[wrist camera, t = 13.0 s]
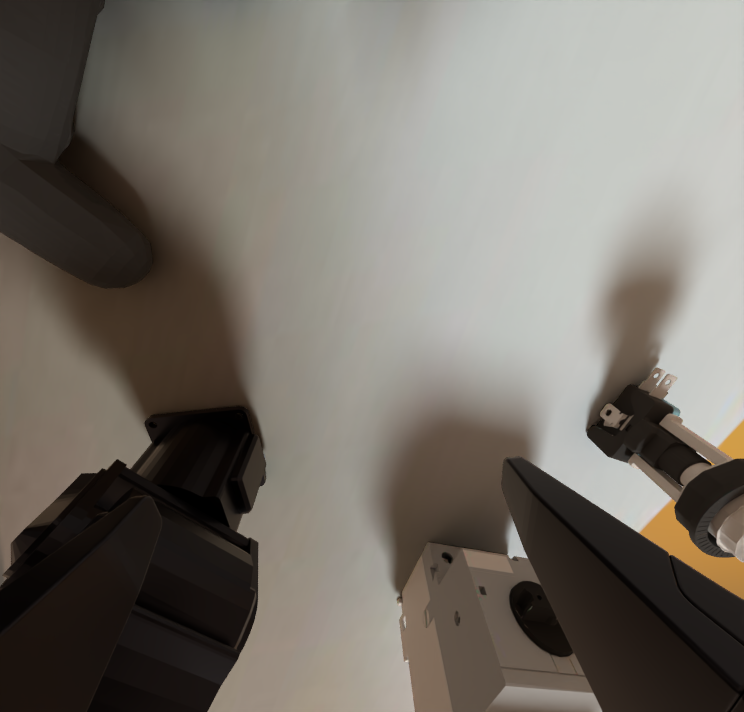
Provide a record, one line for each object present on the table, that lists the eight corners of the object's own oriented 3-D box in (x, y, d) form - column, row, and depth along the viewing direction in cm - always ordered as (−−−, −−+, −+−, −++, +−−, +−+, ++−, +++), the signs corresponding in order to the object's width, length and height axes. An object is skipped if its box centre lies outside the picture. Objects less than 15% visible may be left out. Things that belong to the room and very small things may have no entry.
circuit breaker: (540, 504, 28) (724, 795, 14) (470, 610, 33) (554, 897, 20) (456, 487, 27) (567, 789, 13) (397, 601, 32) (431, 900, 18)
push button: (623, 353, 23) (808, 455, 14) (684, 377, 24) (894, 487, 15) (566, 432, 25) (690, 565, 16) (624, 451, 26) (771, 585, 17)
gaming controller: (246, -58, 16) (-126, -449, 9) (288, -90, 12) (-299, -811, 5) (137, 264, 21) (-147, 177, 14) (143, 311, 17) (-238, 223, 10)
